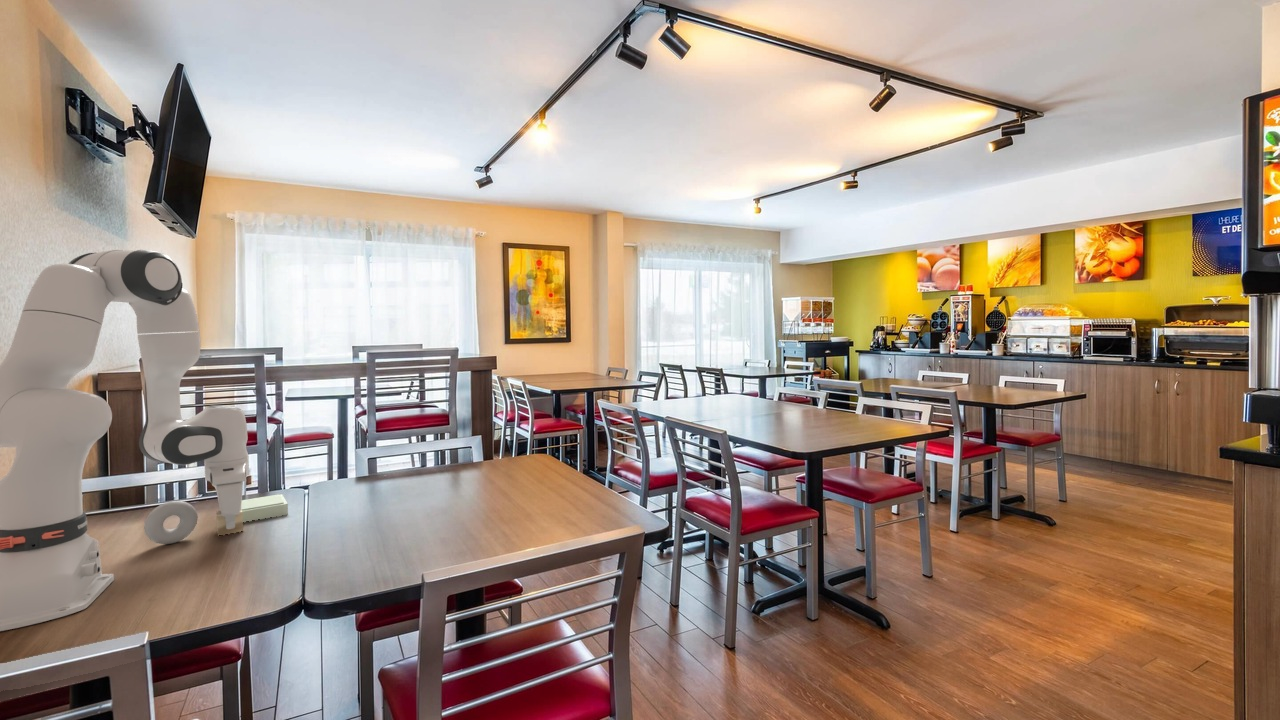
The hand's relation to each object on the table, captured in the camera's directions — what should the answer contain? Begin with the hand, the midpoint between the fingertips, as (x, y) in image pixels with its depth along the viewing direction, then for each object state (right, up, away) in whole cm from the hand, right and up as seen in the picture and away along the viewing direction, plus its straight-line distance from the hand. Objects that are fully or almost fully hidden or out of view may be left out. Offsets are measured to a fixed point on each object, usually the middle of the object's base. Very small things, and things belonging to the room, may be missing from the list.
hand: (229, 524), depth 139 cm
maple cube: (0, -2, 0) cm, 2 cm away
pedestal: (-2, -1, +14) cm, 14 cm away
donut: (-8, -2, -8) cm, 11 cm away
